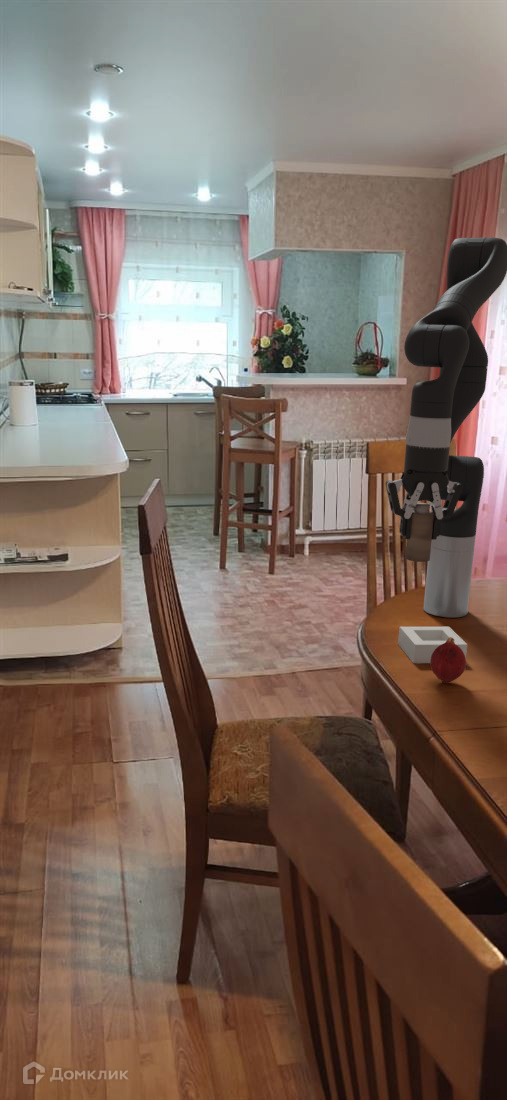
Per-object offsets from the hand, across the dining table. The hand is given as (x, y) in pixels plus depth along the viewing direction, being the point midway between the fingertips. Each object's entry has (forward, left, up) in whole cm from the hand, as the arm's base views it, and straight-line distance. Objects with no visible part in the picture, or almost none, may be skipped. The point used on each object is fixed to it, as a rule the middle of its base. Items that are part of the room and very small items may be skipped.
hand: (419, 537), depth 151 cm
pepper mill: (0, 0, -4) cm, 4 cm away
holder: (0, +4, -21) cm, 22 cm away
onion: (+13, +9, -21) cm, 27 cm away
